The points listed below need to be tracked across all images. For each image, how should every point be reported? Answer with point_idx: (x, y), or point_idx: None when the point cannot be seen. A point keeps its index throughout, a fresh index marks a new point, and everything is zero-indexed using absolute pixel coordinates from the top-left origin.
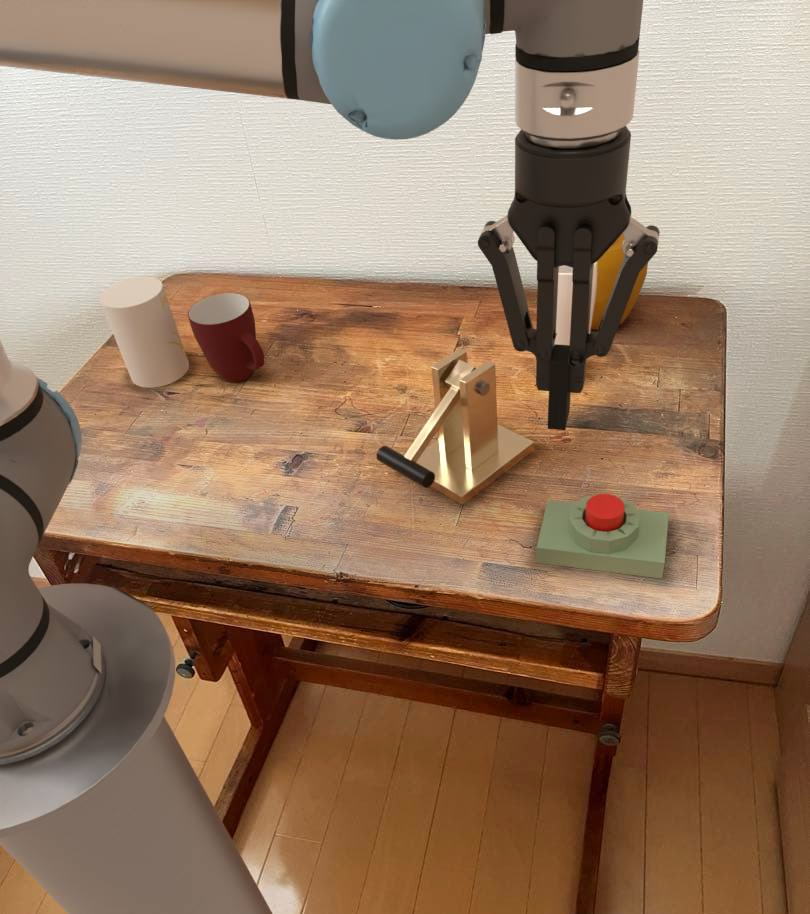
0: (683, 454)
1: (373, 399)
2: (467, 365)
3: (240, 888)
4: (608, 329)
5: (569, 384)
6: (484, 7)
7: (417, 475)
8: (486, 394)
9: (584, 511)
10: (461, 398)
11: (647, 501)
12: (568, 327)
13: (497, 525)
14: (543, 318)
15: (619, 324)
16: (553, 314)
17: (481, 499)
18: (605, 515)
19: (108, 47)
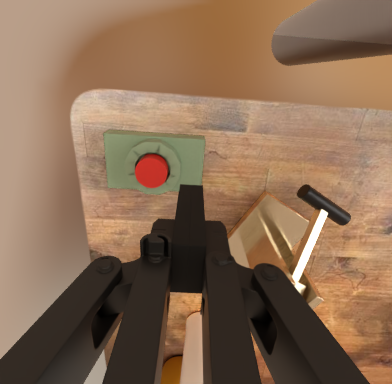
0: (111, 252)
1: (336, 288)
2: None
3: (337, 20)
4: (71, 306)
5: (173, 227)
6: None
7: (314, 192)
8: None
9: (169, 175)
10: (287, 268)
11: (129, 206)
12: (199, 354)
13: (236, 172)
14: (232, 330)
15: (167, 361)
16: (208, 344)
17: (250, 198)
18: (149, 162)
19: None
